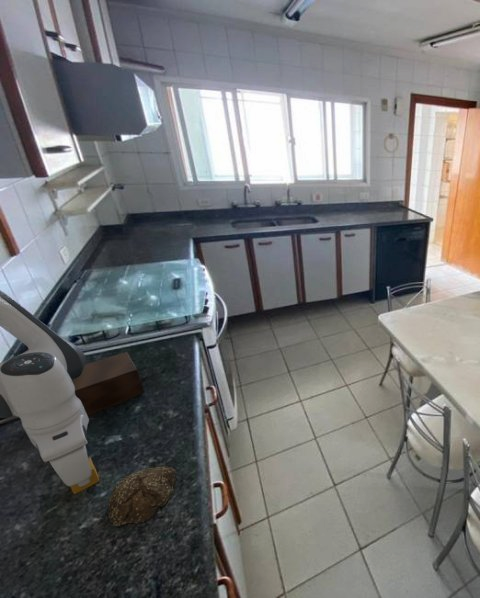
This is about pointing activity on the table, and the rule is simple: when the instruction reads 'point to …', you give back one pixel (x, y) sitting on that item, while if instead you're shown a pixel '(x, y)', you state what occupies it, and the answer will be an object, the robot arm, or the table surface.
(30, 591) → the table surface
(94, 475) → the block
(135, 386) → the cabinet
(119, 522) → the bread roll
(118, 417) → the table surface
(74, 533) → the table surface
